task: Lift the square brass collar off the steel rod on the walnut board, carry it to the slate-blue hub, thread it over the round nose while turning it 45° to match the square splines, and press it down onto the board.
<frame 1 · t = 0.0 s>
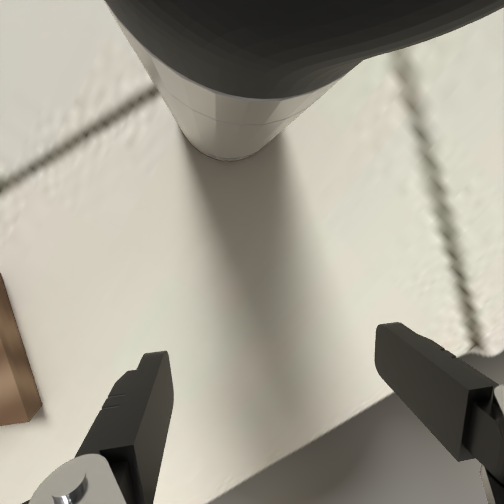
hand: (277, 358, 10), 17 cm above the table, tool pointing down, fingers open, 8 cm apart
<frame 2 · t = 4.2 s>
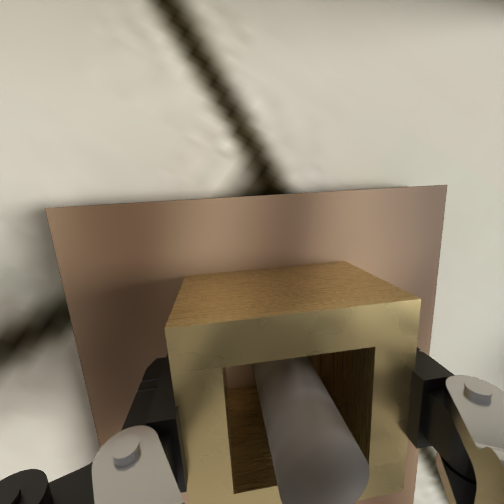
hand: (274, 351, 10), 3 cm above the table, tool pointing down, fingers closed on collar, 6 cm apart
collar: (271, 341, 11), point 2 cm above the table, touching gripper, workboard
workboard: (268, 419, 14), on the table
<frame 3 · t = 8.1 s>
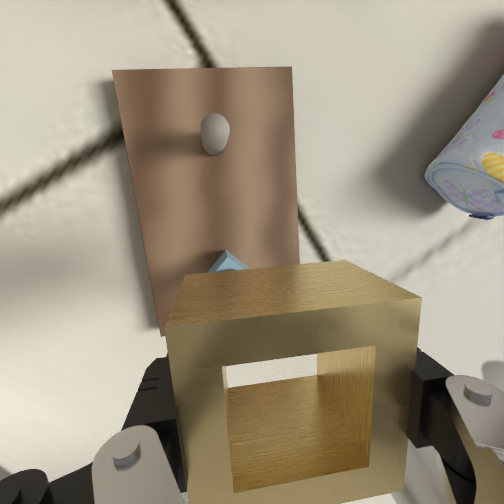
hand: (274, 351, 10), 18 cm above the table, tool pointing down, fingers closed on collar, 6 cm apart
collar: (271, 340, 11), point 17 cm above the table, touching gripper
hub: (228, 271, 26), resting on workboard
workboard: (220, 210, 26), on the table
pencil case: (484, 123, 29), on the table
when the fingers open (3 cm above the table, at t = 11.9 s): collar stays where it is, resting on workboard.
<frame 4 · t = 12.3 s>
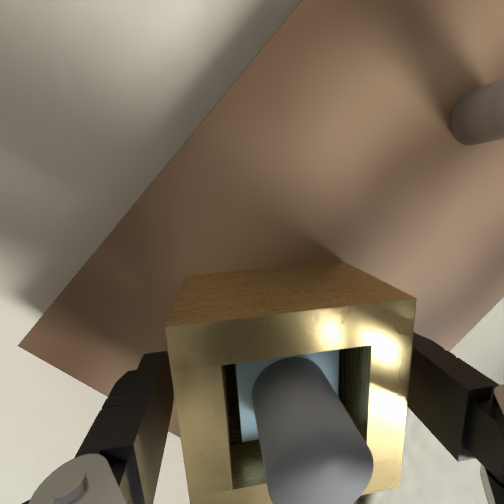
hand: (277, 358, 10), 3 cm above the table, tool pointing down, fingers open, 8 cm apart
collar: (270, 340, 11), point 2 cm above the table, touching workboard
hub: (270, 339, 11), resting on workboard
workboard: (344, 227, 12), on the table
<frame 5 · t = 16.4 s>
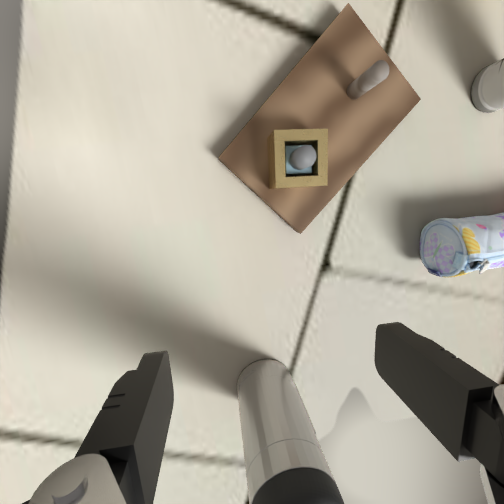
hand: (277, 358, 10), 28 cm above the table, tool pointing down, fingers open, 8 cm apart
collar: (291, 163, 34), point 2 cm above the table, touching workboard
hub: (291, 162, 34), resting on workboard
workboard: (316, 131, 35), on the table
travel mug: (486, 90, 37), on the table
pencil case: (468, 235, 42), on the table
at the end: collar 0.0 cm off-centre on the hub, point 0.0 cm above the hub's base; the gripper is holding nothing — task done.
